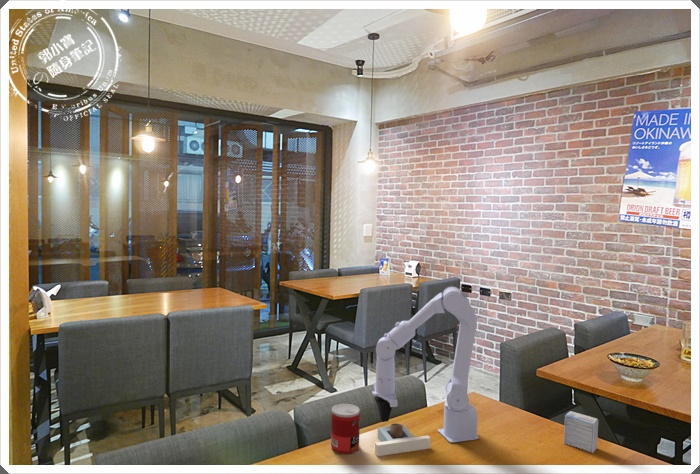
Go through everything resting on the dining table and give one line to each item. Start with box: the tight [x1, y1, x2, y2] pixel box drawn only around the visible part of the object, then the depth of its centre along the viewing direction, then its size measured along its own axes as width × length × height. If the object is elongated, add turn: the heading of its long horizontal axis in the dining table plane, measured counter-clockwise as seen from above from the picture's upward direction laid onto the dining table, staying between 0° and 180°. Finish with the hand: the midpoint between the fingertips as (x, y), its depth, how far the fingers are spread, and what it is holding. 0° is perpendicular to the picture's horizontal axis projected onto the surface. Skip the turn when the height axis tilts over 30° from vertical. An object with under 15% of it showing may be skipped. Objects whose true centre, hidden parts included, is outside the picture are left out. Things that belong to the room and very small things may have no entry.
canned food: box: [330, 403, 361, 455], centre depth 126 cm, size 8×8×11 cm
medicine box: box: [563, 410, 599, 454], centre depth 131 cm, size 8×4×9 cm, turn 47°
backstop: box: [374, 434, 431, 457], centre depth 126 cm, size 16×2×3 cm, turn 108°
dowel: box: [390, 423, 403, 439], centre depth 130 cm, size 3×3×5 cm
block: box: [377, 424, 415, 442], centre depth 130 cm, size 8×8×3 cm
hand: (384, 420), depth 139 cm, fingers closed
